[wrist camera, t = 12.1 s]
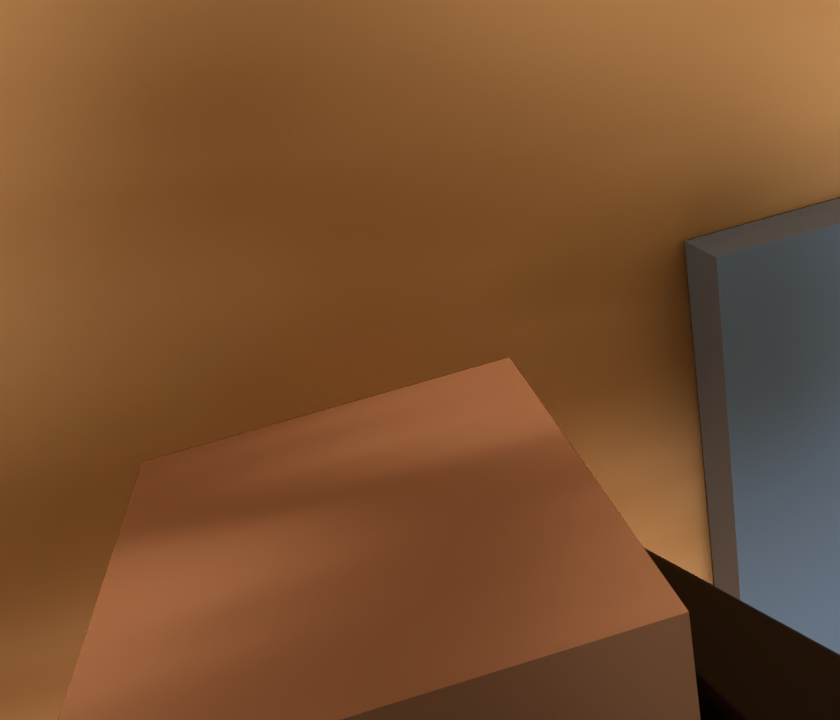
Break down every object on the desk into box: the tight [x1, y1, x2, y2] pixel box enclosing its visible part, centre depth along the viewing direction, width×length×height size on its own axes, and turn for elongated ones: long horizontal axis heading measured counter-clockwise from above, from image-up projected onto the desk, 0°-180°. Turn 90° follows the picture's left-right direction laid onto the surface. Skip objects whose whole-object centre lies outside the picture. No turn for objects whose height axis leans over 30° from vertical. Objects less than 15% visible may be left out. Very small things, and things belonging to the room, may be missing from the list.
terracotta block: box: [58, 357, 701, 720], centre depth 8 cm, size 4×4×4 cm
